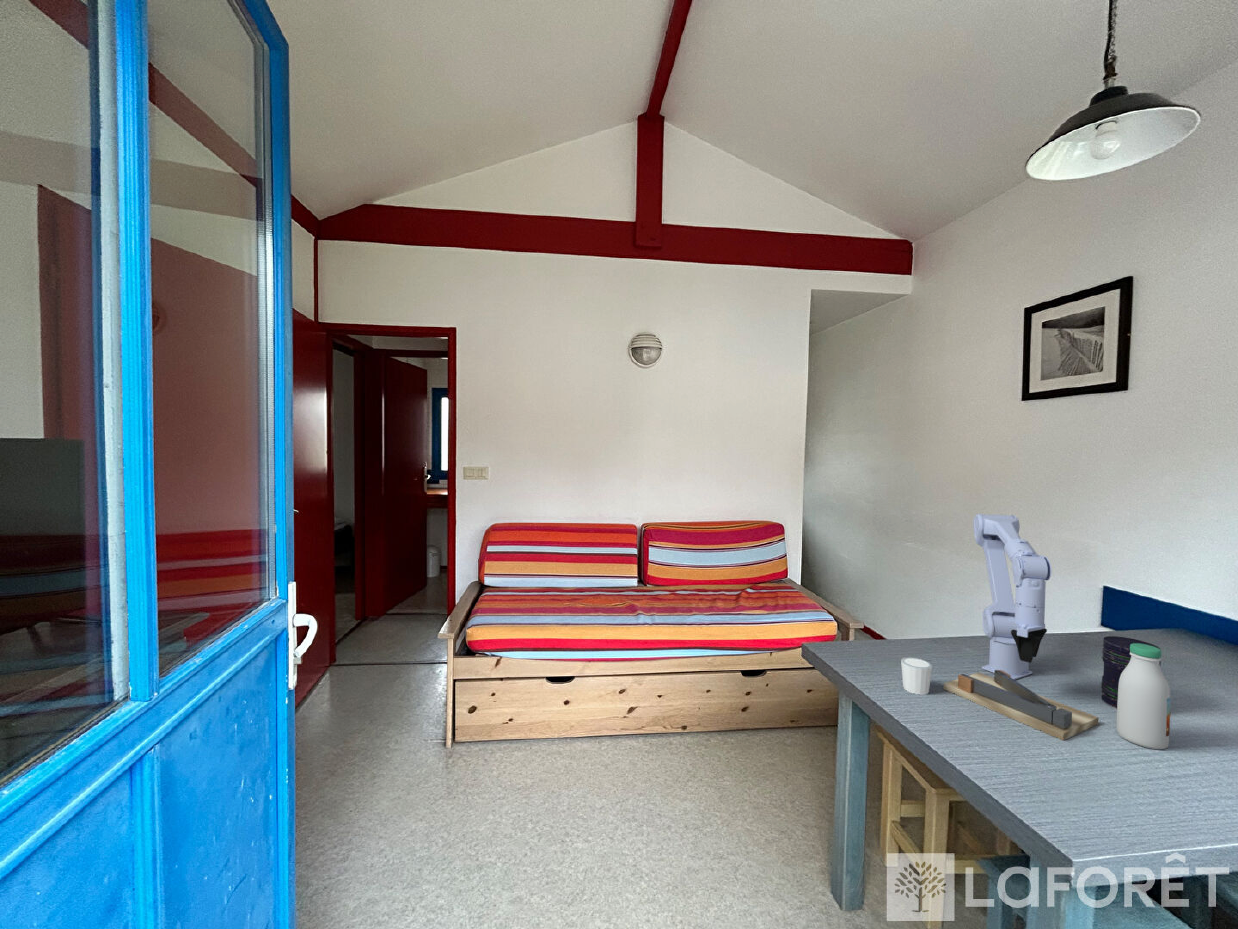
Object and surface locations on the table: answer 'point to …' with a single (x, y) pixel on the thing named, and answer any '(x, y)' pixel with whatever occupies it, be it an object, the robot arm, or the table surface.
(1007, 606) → the robot arm
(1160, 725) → the milk bottle
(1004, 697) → the tongs fixed arm
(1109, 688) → the storage jar
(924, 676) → the white cup
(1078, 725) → the board
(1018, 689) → the arm
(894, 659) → the table surface
